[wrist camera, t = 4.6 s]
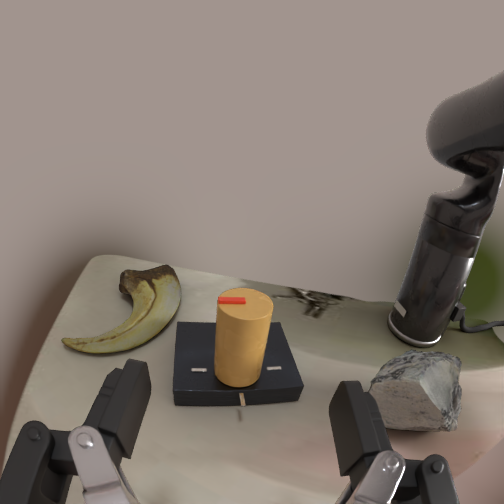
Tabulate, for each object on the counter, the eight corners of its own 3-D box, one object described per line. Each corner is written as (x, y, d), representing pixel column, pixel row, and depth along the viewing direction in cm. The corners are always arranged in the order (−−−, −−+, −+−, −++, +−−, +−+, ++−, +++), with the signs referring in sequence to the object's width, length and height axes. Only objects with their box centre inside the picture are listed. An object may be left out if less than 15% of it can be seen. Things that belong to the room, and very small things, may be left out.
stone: (470, 332, 20) (404, 350, 18) (477, 426, 16) (410, 468, 14) (410, 350, 29) (342, 363, 27) (416, 426, 25) (348, 452, 22)
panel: (276, 337, 34) (280, 321, 33) (303, 414, 24) (309, 399, 23) (178, 337, 32) (177, 320, 31) (174, 420, 21) (171, 405, 20)
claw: (138, 273, 44) (137, 254, 43) (196, 286, 43) (197, 267, 42) (65, 349, 26) (57, 328, 25) (137, 381, 25) (131, 360, 24)
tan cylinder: (256, 354, 28) (267, 284, 24) (264, 386, 24) (280, 315, 20) (212, 354, 27) (216, 283, 24) (215, 388, 23) (219, 315, 20)
